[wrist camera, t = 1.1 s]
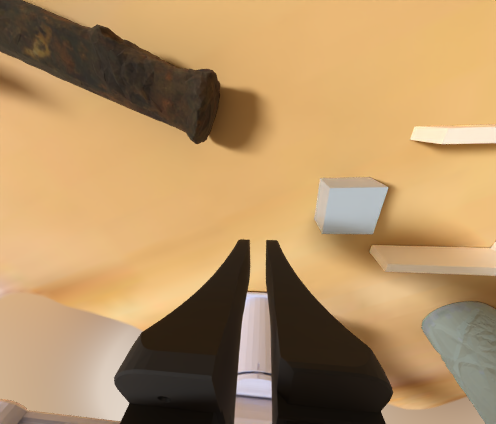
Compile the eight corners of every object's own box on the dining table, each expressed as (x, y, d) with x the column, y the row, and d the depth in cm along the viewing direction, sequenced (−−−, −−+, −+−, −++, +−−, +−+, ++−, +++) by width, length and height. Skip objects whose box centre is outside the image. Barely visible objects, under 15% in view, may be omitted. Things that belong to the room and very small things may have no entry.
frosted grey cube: (357, 218, 19) (372, 234, 16) (313, 218, 19) (321, 233, 17) (368, 176, 17) (388, 187, 14) (319, 177, 17) (329, 188, 15)
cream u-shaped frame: (495, 255, 19) (532, 277, 17) (369, 251, 20) (384, 271, 18) (601, 121, 13) (684, 121, 11) (414, 126, 14) (448, 128, 12)
